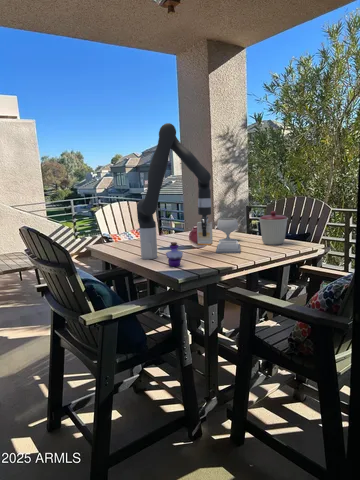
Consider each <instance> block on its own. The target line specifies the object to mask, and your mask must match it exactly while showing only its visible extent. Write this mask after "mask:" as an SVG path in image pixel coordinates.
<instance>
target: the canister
mask: <svg viewBox="0 0 360 480" xmlns="http://www.w3.org/2000/svg"><path fill="white" fill-rule="evenodd" d="M258 220H259V224H260V233H261V234H260V235H261V240H262V242H263V244H265V245H269V246H279V245H282V244H283V243H284V242H285V241H286V233H287V224H288V220H289V217H287V216H286V215H282V214H277V211H276V210H272V211H270V214H268V215H267V214H266V215H262V216H260V217H259V218H258Z"/></svg>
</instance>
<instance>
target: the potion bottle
mask: <svg viewBox="0 0 360 480" xmlns="http://www.w3.org/2000/svg"><path fill="white" fill-rule="evenodd" d="M169 249H170V250H169V251H167V252H165V256H166V259H168V260H167V262H168V264H169V267H170V268H178V267H180V266H181V262H182V258H183V251H181V250H178V249H179V245H178V242H176V241H175V242H170V245H169Z"/></svg>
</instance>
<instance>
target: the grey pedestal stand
mask: <svg viewBox="0 0 360 480" xmlns="http://www.w3.org/2000/svg"><path fill="white" fill-rule="evenodd" d="M215 254H241V243H239V241H238V240H237V241H219V240H218V244H217V246H216V249H215Z"/></svg>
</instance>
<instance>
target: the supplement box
mask: <svg viewBox="0 0 360 480" xmlns="http://www.w3.org/2000/svg"><path fill="white" fill-rule="evenodd" d="M203 227H205V226H203ZM196 231H197V232H196V235H197V236H196V237H197V238H196V239H197V246H206V245H207V246H212V245H213V241H214V240H213V221H208V223H207V229H206V236H203V235H202V225H201V221H198V222H196Z"/></svg>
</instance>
